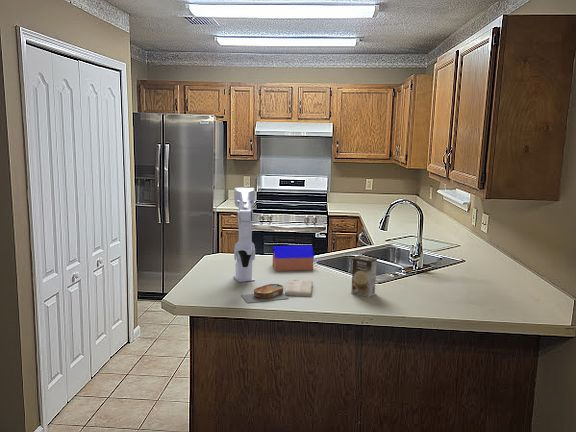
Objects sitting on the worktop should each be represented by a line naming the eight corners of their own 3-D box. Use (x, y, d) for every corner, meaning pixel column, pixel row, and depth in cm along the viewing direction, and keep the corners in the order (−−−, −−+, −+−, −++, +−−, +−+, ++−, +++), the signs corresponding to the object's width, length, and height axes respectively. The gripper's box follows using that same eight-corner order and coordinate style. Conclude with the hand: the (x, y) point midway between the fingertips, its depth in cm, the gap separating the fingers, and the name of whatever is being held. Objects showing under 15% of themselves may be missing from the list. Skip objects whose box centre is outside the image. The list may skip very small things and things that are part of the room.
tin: (272, 282, 230) (287, 285, 224) (272, 289, 230) (287, 292, 225) (249, 290, 218) (264, 293, 213) (249, 297, 218) (264, 300, 213)
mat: (241, 295, 220) (241, 295, 220) (280, 291, 226) (280, 291, 226) (247, 303, 211) (247, 302, 211) (288, 298, 217) (288, 298, 217)
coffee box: (350, 293, 226) (351, 257, 223) (356, 289, 231) (358, 255, 228) (369, 297, 221) (371, 261, 218) (375, 293, 226) (377, 258, 223)
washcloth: (312, 285, 238) (312, 279, 237) (312, 298, 220) (312, 291, 220) (287, 284, 239) (287, 278, 238) (284, 297, 221) (284, 290, 220)
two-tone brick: (271, 265, 271) (272, 243, 269) (308, 264, 274) (309, 242, 272) (275, 271, 259) (275, 248, 257) (313, 270, 262) (314, 247, 260)
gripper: (232, 234, 230) (232, 263, 232) (240, 240, 216) (240, 271, 219) (247, 233, 232) (247, 262, 234) (256, 239, 219) (256, 270, 221)
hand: (245, 266), depth 227 cm, fingers closed
